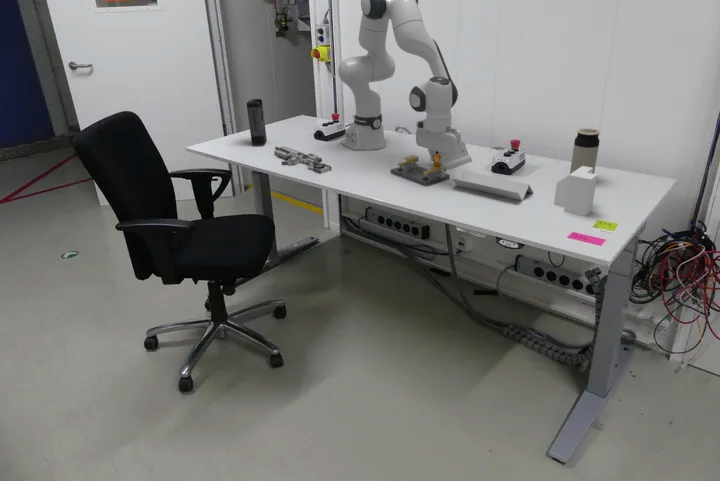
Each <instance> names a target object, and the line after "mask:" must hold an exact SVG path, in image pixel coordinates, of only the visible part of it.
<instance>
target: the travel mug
mask: <svg viewBox="0 0 720 481" xmlns="http://www.w3.org/2000/svg"><path fill="white" fill-rule="evenodd" d="M576 132H577V135H576V136H575V139H574V142H573V150H572V157H571V163H570V172H569V175H570V174H571V173H573V172H574V171H576V170H577V169H579V168H580V167H582V166H586V167H591V168H593V172H592V174H595V170H596V165H597V159H598V153H599V147H600V139H599V136H600V133H601V131H600V130H599V129H597V128H591V127H588V128H587V127H583V128H578V129H576Z"/></svg>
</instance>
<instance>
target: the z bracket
mask: <svg viewBox="0 0 720 481" xmlns="http://www.w3.org/2000/svg"><path fill="white" fill-rule="evenodd" d="M450 178H451V180H452V181H453V182H454V185H456V186H457V187H460V188H461V187H462V188H466V189H470V190H474V191H479V192H483V193H487V194H491V195H496V196H499V197H500V196H501V197H503V198H504V197H505V198H508V199H512V200H515V201H520V202H521V201H524V199H525V196H526V194H527V193H530V194H534V191H533V189H532V186H531V185H530V184H529V183H523V182H519V181H515V180H509V179H506V178H505V179H504V178H502V177H497V176H491V175H487V174H481V173H478V172H472V171H467V170H463V172H462V173H461V176H460V178H458V177H453V176H450Z"/></svg>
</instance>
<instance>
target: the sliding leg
mask: <svg viewBox="0 0 720 481" xmlns="http://www.w3.org/2000/svg"><path fill="white" fill-rule="evenodd" d="M441 157H442V155H441V154H434V161H433V164H432V165H430V168H431V170H428V171H425V172H423V174H424V175H425V179H426V178H427V175H428V174H431V173H435V172H436V173H437V172H441V171H442V172H444V171H445V168H444V166H445V165H443V164H440V163H439V159H441Z"/></svg>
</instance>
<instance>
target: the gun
mask: <svg viewBox="0 0 720 481" xmlns="http://www.w3.org/2000/svg"><path fill="white" fill-rule="evenodd" d="M274 149H275V150H274V152H273V153H274V155H275V156H276V157H278V158H280V159H283V161H281V166H290V167H292V166H297V165H298V164H306V165H307V169H308V170H313V172H314V173H317V174H320V175H321V174H325V173H328V172H331V171H332V165H329V164H326V163H321V162H323V158H322V157H320V156H319V155H318V154H317V155H316V154H314V153H311V152H308V154H306V153H304V152H301V151H300V150H297V149H294V148H291V147H288V146H279V147H278V146H275V147H274Z"/></svg>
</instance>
